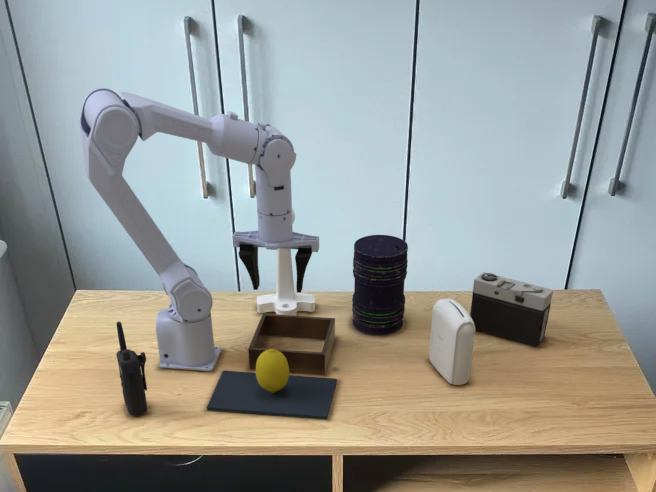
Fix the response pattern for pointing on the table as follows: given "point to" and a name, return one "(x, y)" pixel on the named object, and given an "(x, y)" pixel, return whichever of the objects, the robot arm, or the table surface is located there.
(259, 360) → the lemon
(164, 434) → the table surface
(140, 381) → the two-way radio
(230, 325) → the table surface
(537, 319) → the camera
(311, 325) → the wooden frame
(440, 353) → the photo printer
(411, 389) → the table surface
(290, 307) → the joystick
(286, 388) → the mat
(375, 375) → the table surface
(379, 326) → the dark navy cylinder
